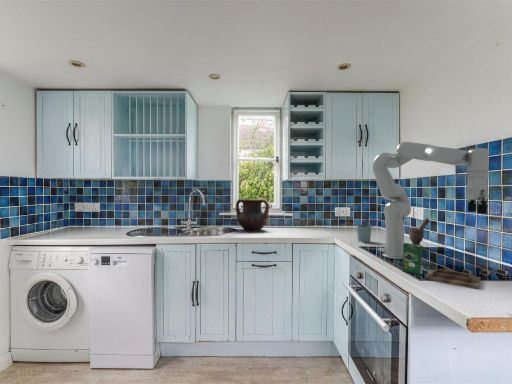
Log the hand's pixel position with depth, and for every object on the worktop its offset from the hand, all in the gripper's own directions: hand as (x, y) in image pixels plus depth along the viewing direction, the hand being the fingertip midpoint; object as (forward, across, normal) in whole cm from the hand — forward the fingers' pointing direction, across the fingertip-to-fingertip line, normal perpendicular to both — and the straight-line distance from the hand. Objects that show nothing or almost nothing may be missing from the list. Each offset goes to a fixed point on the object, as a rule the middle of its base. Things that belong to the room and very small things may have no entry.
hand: (476, 212), depth 129 cm
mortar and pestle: (+28, -54, -10) cm, 62 cm away
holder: (+28, +16, -15) cm, 35 cm away
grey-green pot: (+29, -67, -42) cm, 84 cm away
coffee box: (+28, +9, -28) cm, 41 cm away
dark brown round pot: (+29, -96, -137) cm, 170 cm away
